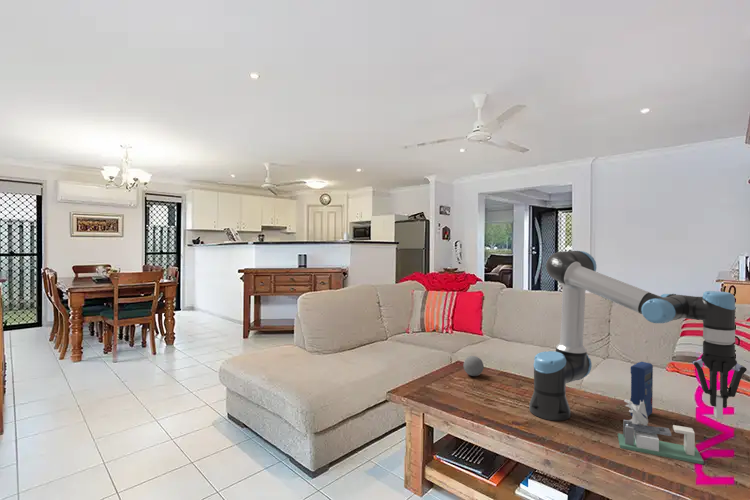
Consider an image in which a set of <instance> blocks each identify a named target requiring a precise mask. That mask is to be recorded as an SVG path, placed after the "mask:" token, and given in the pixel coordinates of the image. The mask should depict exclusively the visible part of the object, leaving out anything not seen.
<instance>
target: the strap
mask: <svg viewBox="0 0 750 500" xmlns="http://www.w3.org/2000/svg"><path fill="white" fill-rule="evenodd" d="M625 426H629V427H634V430H635V431H642V432H648V433H655V434H657V435H663V436H668V437H672V432H671V430H670V428H669V427H662V426H652V425H651V426H650V425H647V426H646V425H643V424H641V425H639V424H632V423H630V422H625Z"/></svg>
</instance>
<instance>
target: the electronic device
mask: <svg viewBox="0 0 750 500" xmlns="http://www.w3.org/2000/svg"><path fill="white" fill-rule="evenodd" d="M653 368H654V365H653V364H652V363H650V362H646V361H639V362H636V363H634V364H633V365H631V366H630V398H629V400H631V401H632V402H633V404H636V406H637V405H639V406H640V400H641V402H643V400H644V404H645V408H646V413H647V417H649V416H651V415H652V413H653V389H654V388H653V386H654V385H653V381H654V380H653V378H654V377H653V375H654V371H653V370H654V369H653ZM629 414H630V416H631V417H632V416H633V413H630V412H629ZM641 414H642V413H641ZM642 415H643V416H644V417H645V418H646V416H645V415H644V414H642ZM646 419H647V418H646Z"/></svg>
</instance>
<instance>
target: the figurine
mask: <svg viewBox="0 0 750 500" xmlns="http://www.w3.org/2000/svg"><path fill="white" fill-rule="evenodd" d="M623 402H624V403H625V405H624V406H625V408H626V407H627V408H629V410H628V412H629V414H630V413H633V416H631V417H632V418H631V419H628V420H629V421H632V424H639V425H646V426H649V425H648V423H649V419H648V417H649V416H647V413H646V408H645V404H644V400H643V402H641V400H640V406H639V405H637V406H636V404H633V402H632V401H631V400H630V399H628V398H626V399H624V400H623ZM641 413H642V414H644V415H645V416H646V418H645V417H644V416H643V415H642V414H641Z"/></svg>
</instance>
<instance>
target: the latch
mask: <svg viewBox="0 0 750 500" xmlns="http://www.w3.org/2000/svg"><path fill="white" fill-rule="evenodd" d="M672 429H673V431H674V433H677V434H683V445H684V450H685V452H686V454H688V455H693V456H694V455H695V448H696V447H695V445H696V444H695V443H696V442H695V441H696V440H695V439H696V437H695V436H696V435H695V434H696V432H695V431H694V429H693V427H687V426H681V425H675V424H673V425H672Z"/></svg>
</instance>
